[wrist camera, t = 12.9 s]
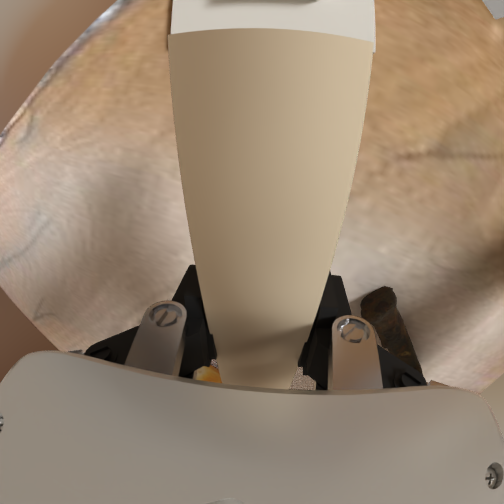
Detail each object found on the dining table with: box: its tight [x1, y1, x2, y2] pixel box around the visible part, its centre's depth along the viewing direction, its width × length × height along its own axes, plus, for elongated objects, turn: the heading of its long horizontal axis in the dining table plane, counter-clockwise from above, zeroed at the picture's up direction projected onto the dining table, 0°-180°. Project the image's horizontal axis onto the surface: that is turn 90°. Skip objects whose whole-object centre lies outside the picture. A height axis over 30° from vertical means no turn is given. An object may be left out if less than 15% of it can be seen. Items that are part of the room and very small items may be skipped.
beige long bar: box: [168, 28, 374, 389], centre depth 11 cm, size 3×18×5 cm, turn 179°
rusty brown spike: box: [361, 286, 423, 375], centre depth 29 cm, size 19×4×5 cm, turn 35°
